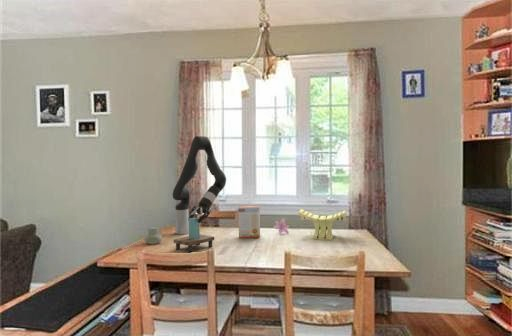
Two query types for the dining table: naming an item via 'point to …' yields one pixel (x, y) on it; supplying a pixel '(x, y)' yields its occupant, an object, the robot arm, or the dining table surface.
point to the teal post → (194, 228)
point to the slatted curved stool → (322, 223)
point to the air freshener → (153, 236)
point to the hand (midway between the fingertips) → (193, 221)
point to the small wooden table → (193, 241)
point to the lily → (281, 226)
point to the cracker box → (249, 221)
